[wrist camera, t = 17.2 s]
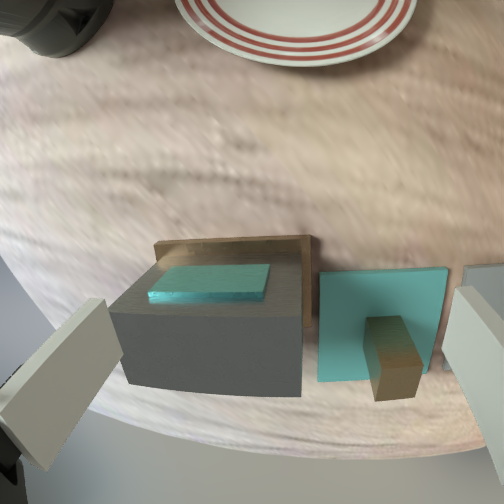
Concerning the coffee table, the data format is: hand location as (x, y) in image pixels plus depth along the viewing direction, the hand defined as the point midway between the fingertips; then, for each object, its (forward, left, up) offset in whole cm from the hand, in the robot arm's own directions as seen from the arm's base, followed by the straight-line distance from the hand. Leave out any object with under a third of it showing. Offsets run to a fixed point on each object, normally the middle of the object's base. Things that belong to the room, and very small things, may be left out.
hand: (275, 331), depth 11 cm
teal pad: (+11, -16, -25) cm, 32 cm away
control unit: (-7, -9, -25) cm, 28 cm away
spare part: (+11, -16, -24) cm, 31 cm away
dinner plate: (+3, +28, -26) cm, 38 cm away
